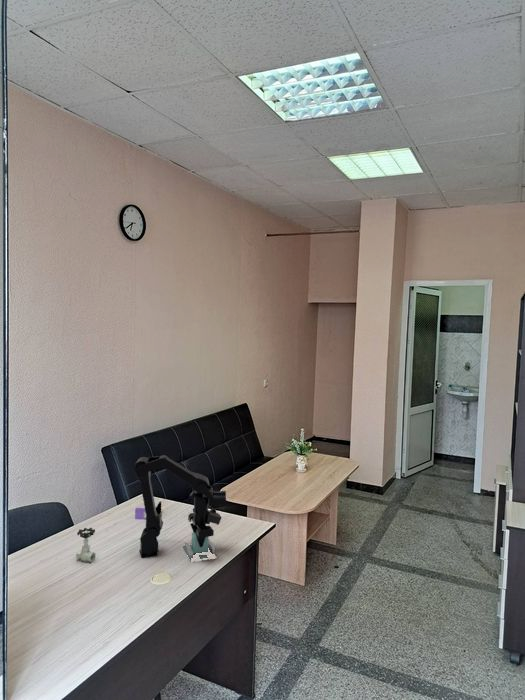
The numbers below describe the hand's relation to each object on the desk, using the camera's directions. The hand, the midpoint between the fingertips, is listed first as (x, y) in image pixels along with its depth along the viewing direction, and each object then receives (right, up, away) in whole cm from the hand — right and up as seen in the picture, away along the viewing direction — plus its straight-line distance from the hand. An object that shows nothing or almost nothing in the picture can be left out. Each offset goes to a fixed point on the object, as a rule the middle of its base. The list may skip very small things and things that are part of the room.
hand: (199, 544), depth 195 cm
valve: (-44, -3, -9) cm, 45 cm away
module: (0, -3, 0) cm, 3 cm away
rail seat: (0, -4, 0) cm, 4 cm away
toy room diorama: (-29, -2, +34) cm, 45 cm away
